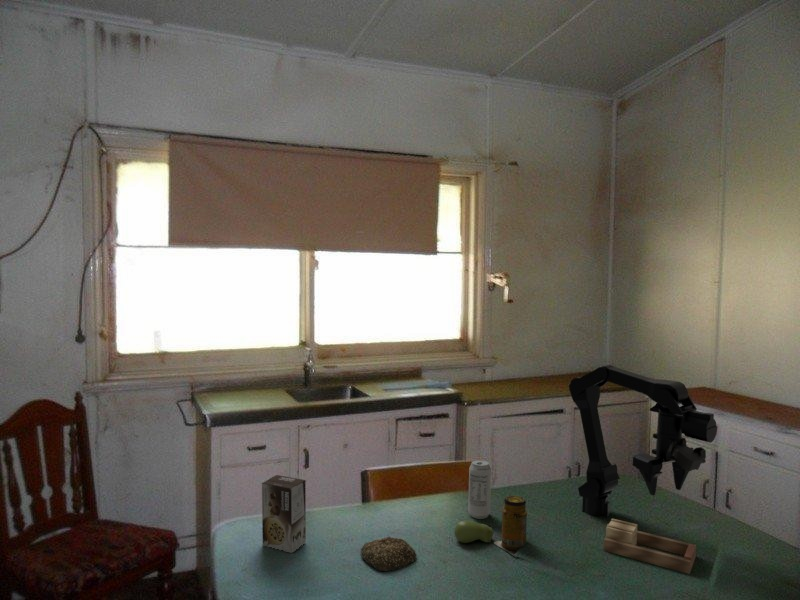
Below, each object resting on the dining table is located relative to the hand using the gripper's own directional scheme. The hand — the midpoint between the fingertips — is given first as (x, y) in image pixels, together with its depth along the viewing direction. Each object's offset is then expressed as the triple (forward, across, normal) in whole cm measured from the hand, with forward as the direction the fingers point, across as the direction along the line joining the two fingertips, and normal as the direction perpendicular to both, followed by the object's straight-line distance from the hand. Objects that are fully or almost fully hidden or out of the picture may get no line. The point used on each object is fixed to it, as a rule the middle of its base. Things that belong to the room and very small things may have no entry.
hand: (665, 492), depth 150 cm
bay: (+13, -10, -4) cm, 17 cm away
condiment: (+14, -36, +13) cm, 41 cm away
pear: (+14, -43, +21) cm, 50 cm away
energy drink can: (+14, -34, +33) cm, 49 cm away
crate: (+12, -13, +1) cm, 18 cm away
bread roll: (+15, -66, +22) cm, 71 cm away
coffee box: (+15, -88, +38) cm, 97 cm away
